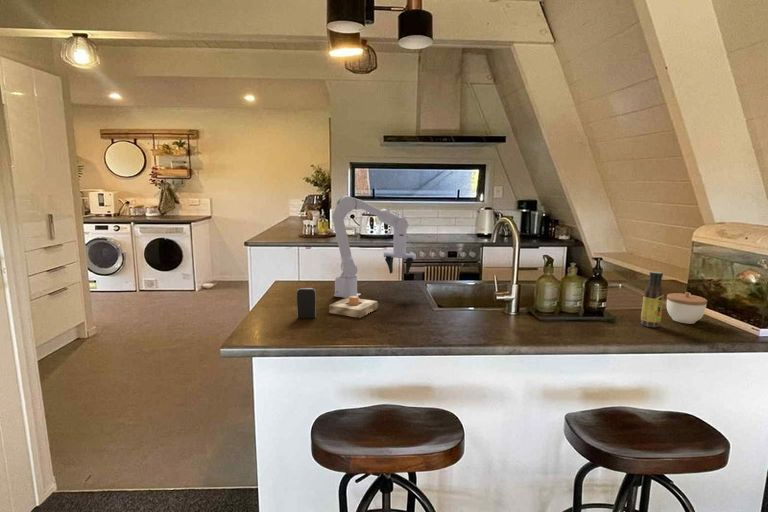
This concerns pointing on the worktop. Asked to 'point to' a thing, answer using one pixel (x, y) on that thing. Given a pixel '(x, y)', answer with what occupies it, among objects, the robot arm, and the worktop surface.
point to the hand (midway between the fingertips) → (399, 273)
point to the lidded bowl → (685, 307)
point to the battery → (306, 303)
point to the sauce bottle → (652, 301)
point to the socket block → (353, 307)
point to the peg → (354, 300)
